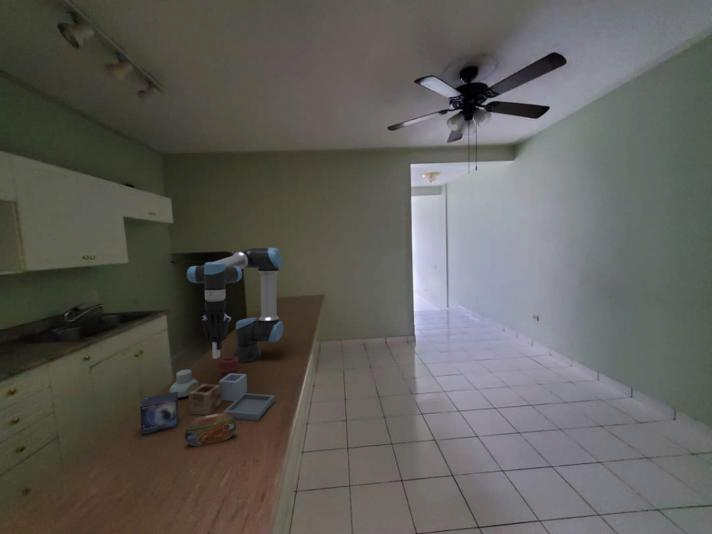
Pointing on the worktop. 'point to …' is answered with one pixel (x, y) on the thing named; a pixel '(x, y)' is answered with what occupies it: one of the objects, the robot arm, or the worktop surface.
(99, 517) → the worktop surface
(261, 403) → the tray
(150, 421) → the small box
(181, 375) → the air freshener
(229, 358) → the mechanical component
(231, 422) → the tin
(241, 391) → the block
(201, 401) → the brown open cube box
